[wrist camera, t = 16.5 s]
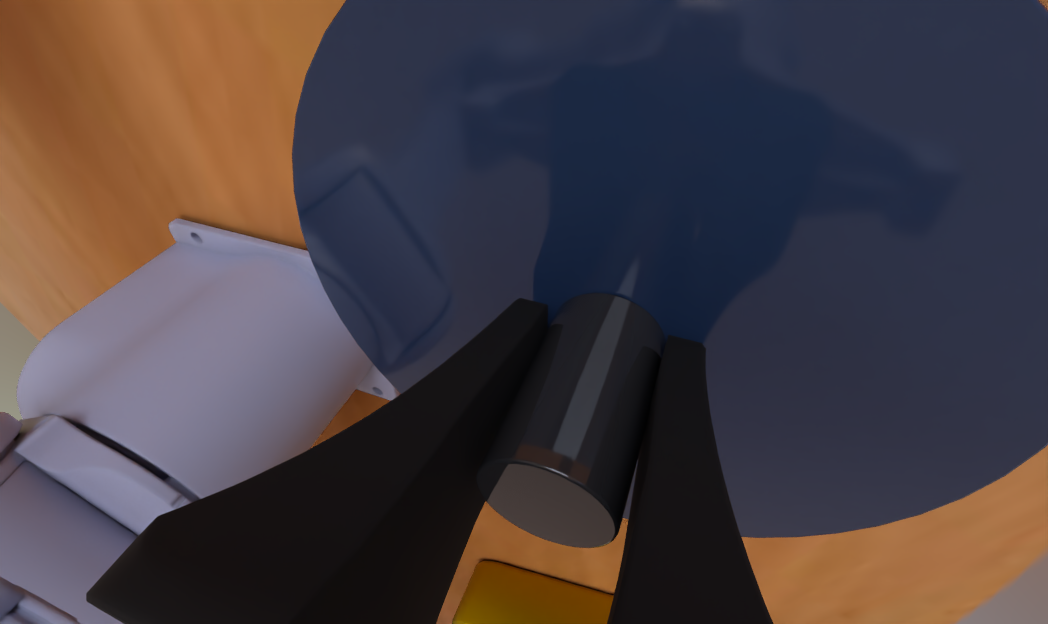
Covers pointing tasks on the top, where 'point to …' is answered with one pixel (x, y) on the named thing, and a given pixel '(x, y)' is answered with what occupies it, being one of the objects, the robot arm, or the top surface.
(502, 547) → the top surface
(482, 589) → the element tile
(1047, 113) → the lid
